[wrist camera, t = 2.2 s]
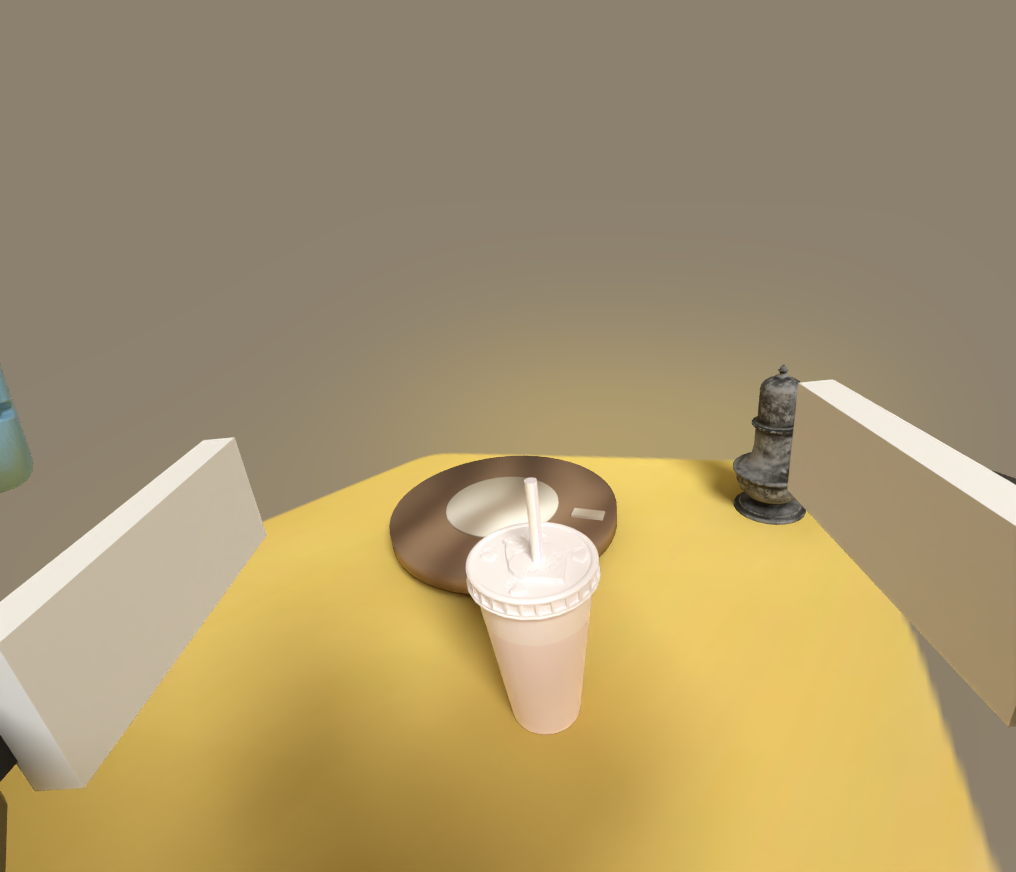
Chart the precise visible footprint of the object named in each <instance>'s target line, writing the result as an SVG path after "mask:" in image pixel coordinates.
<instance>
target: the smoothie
mask: <svg viewBox="0 0 1016 872" xmlns="http://www.w3.org/2000/svg"><path fill="white" fill-rule="evenodd" d="M524 484H525V494H526V504H527V514H528V522H526V523H518V524H514V525H510V526H506V527H504V528H501V529H499V530H496V531H494V532H492V533H491V534H489V535H487V536H486V537H484V538H483V539H482V540H480V541H479V542H478V543H477V544H476V545H475V546H474V547H473V548H472V550H471V551H470V553H469V555H468V557H467V560H466V574H467V579H466V582H467V587H468V592H469V593H470V595H471V596H472V598H473V599H474V601H475V602H476V603H477V604H478V605H480V608H481V612H482V615H483V619H484V621H485V624H486V627H487V630H488V634H489V637H490V640H491V643H492V646H493V650H494V653H495V656H496V659H497V662H498V666H499V669H500V672H501V675H502V678H503V682H504V685H505V688H506V691H507V694H508V698H509V701H510V704H511V707H512V710H513V714H514V716H515V718H516V720H517V721H518V723H519V724H520V725H521V726H522V727H524V728H525V729H527V730H529V731H531V732H533V733H537V734H554V733H558V732H561V731H563V730H565V729H566V728H568V727H569V726H571V725H572V724H573V722H574V721H575V720H576V718H577V717H578V714H579V712H580V706H581V696H582V687H583V677H584V667H585V658H586V648H587V639H588V629H589V620H590V611H591V602H592V594H593V593H594V591H595V590H596V589H597V587H598V583H599V580H600V577H601V574H600V566H599V556H598V552H597V549H596V547H595V545H594V544H593V542H592V541H591V540H590V539H589V538H588V537H587V536H585V535H584V534H583V533H581V532H579V531H577V530H575V529H574V528H571V527H568V526H565V525H562V524H557V523H552V522H541V520H540V508H539V497H538V486H537V479H536V478H527V479H525V480H524Z"/></svg>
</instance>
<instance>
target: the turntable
mask: <svg viewBox="0 0 1016 872" xmlns="http://www.w3.org/2000/svg"><path fill="white" fill-rule="evenodd" d="M527 478H536V479H537V486H538V497H539V508H540V520H541V522H552V523H557V524H562V525H565V526H568V527H571V528H574V529H575V530H577V531H579V532H581V533H583V534H584V535H585V536H587V537H588V538H589V539H590V540H591V541H592V542H593V544H594V545H595V547H596V549H597V552H598V556H599V557H600V556H601V555H602V554H603V553H604V552H605V551H606V549H607V548H608V546H609V545H610V544H611V542H612V540H613V538H614V535H615V532H616V528H617V506H616V499H615V495H614V493H613V491H612V489H611V488H610V486H609V485H608V484H607V483H606V482H605V481H604V480H603V479H602V478H601V477H600V476H598V475H597V474H595V473H594V472H592V471H590V470H588V469H586V468H584V467H582V466H580V465H577V464H574V463H571V462H567V461H563V460H559V459H554V458H548V457H538V456H506V457H496V458H489V459H483V460H478V461H473V462H470V463H466V464H462V465H459V466H456V467H453V468H450V469H448V470H445V471H443V472H440V473H438V474H436V475H434V476H432V477H430V478H428V479H427V480H425V481H423V482H421V483H420V484H419V485H417V486H416V487H414V488H413V489H412V490H411V491H409V492H408V493H407V494H406V495H405V496H404V497H403V498H402V499H401V501H400V502H399V503H398V505H397V506H396V508H395V509H394V511H393V514H392V516H391V520H390V535H391V540H392V544H393V549H394V552H395V555H396V557H397V559H398V560H399V562H400V564H401V565H402V566H403V567H404V568H405V569H406V570H407V571H408V572H409V573H410V574H412V575H413V576H414V577H416V578H417V579H419V580H421V581H423V582H425V583H427V584H429V585H432V586H435V587H438V588H440V589H444V590H448V591H453V592H457V593H465V594H470V593H469V592H468V587H467V582H466V579H467V574H466V560H467V557H468V555H469V553H470V551H471V550H472V548H473V547H474V546H475V545H476V544H477V543H478V542H479V541H480V540H482V539H483V538H484V537H486V536H487V535H489V534H491V533H492V532H494V531H496V530H499V529H501V528H504V527H506V526H510V525H514V524H518V523H526V522H528V514H527V504H526V494H525V484H524V480H525V479H527Z"/></svg>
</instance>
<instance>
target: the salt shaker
mask: <svg viewBox="0 0 1016 872" xmlns="http://www.w3.org/2000/svg"><path fill="white" fill-rule="evenodd" d="M778 371H779V372H780V374H778V375H776V376H773V377H770V378H768V379H766V380H765V381H764V382H763V383H762V384H761V387H760V396H759V408H758V416H757V417H755V418H754V419H753V420H752V425H753V426H754V427H755V428H756V430H755V441H754V446H753V450H752V452H750V453H747V454H744V455H741V456H740V457H738V458H737V459H736V460H735V461H734V462H733V469H734V471H735V473H736V474H737V480H738V482H739V485H740V487H741V489H742V490H743V491H744V492H742V493H740V494H739V495H737V496H736V498H735V500H734V506H735V508H736V510H737V511H738V512H739V513H740V514H742V515H743V516H745V517H747V518H749V519H751V520H754V521H757V522H761V523H765V524H775V525H778V524H789V523H794V522H796V521H799V520H800V519H802V518H803V517H804V515H805V513H806V509H805V508H804V507H803V506H802V505H801V504H800V503H799V502H798V501H797V500H796V499H795V497H794V496H793V495H792V494H791V493H790V492H789V491H788V490H787V487H788V478H789V468H790V459H791V449H792V440H793V430H794V421H795V411H796V402H797V393H798V383H800V381H798V380H797V379H795V378H793V377H790V376H789V375H787V374H786V372H787V371H788V369H787V367H786V366H785V365H783V366H781V367H780V369H778Z"/></svg>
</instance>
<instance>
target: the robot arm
mask: <svg viewBox="0 0 1016 872" xmlns="http://www.w3.org/2000/svg"><path fill="white" fill-rule="evenodd" d="M32 471H33V459H32V456H31V453H30V450H29V447H28V444H27V441H26V438H25V435H24V432H23V429H22V426H21V423H20V420H19V417H18V414H17V411H16V408H15V405H14V402H13V399H12V396H11V393H10V391H9V388H8V385H7V382H6V379H5V376H4V373H3V371H2V368H1V365H0V493H2V492H5V491H8V490H11V489H13V488H16V487H18V486H20V485H21V484H23V483H24V482H25V481H26V480H27V479H28V478H29V477H30V475H31V473H32ZM787 490H788V491H789V492H790V493H791V494H792V495H793V496H794V497H795V499H796V500H797V501H798V502H799V503H800V504H801V505H802V506H803V507H804V508H805V509H806V510H807V511H808V513H809V514H810V515H811V516H812V517H813V518H814V519H815V520H816V521H817V522H818V523H819V524H820V525H821V526H822V528H823V529H824V530H825V531H826V532H827V533H828V534H829V535H830V536H831V537H832V538H833V539H834V540H835V542H836V543H837V544H838V545H839V546H840V547H841V548H842V549H843V550H844V551H845V552H846V553H847V554H848V556H849V557H850V558H851V559H852V560H853V561H854V562H855V563H856V564H857V565H858V566H859V567H860V568H861V569H862V571H863V572H864V573H865V574H866V575H867V576H868V577H869V578H870V579H871V580H872V581H873V582H874V583H875V585H876V586H877V587H878V588H879V589H880V590H881V591H882V592H883V593H884V594H885V595H886V596H887V597H888V599H889V600H890V601H891V602H892V603H893V604H894V605H895V606H896V607H897V608H898V609H899V610H900V611H901V612H902V614H903V615H904V616H905V617H906V618H907V619H908V620H909V621H910V622H911V623H912V624H913V625H914V626H915V628H916V629H917V630H918V631H919V632H920V633H921V634H922V635H923V636H924V637H925V638H926V639H927V640H928V641H929V642H930V644H931V645H932V646H933V647H934V648H935V649H936V650H937V651H938V652H939V653H940V654H941V655H942V657H943V658H944V659H945V660H946V661H947V662H948V663H949V664H950V665H951V666H952V667H953V668H954V669H955V671H956V672H957V673H958V674H959V675H960V676H961V677H962V678H963V679H964V680H965V681H966V682H967V683H968V684H969V686H971V688H972V689H973V690H974V691H975V692H976V693H977V694H978V695H979V696H980V697H981V698H982V700H983V701H984V702H985V703H986V704H987V705H988V706H989V707H990V708H991V709H992V710H993V711H994V712H995V713H996V715H997V716H998V717H999V718H1000V719H1001V720H1002V721H1003V722H1004V723H1005V724H1006V725H1007V726H1008V727H1016V479H1015V478H1012V477H1009V476H1006V475H1004V474H1001V473H998V472H995V471H991V470H989V469H987V468H986V467H984V466H982V465H980V464H979V463H977V462H975V461H973V460H972V459H970V458H968V457H966V456H965V455H963V454H961V453H960V452H958V451H956V450H954V449H953V448H951V447H949V446H947V445H945V444H944V443H942V442H941V441H939V440H937V439H935V438H934V437H932V436H930V435H928V434H927V433H925V432H923V431H922V430H920V429H918V428H916V427H915V426H913V425H911V424H909V423H908V422H906V421H904V420H902V419H901V418H899V417H897V416H896V415H894V414H892V413H890V412H889V411H887V410H885V409H883V408H882V407H880V406H878V405H876V404H875V403H873V402H871V401H870V400H868V399H866V398H864V397H863V396H860V395H859V394H857V393H856V392H854V391H852V390H850V389H848V388H847V387H845V386H844V385H842V384H840V383H838V382H837V381H835V380H823V381H813V382H803V383H798V393H797V402H796V411H795V421H794V430H793V440H792V449H791V459H790V468H789V478H788V487H787ZM265 537H266V532H265V529H264V526H263V523H262V520H261V517H260V514H259V511H258V507H257V504H256V501H255V498H254V495H253V492H252V489H251V486H250V483H249V480H248V477H247V474H246V471H245V468H244V465H243V462H242V459H241V456H240V453H239V450H238V447H237V444H236V441H235V438H234V437H233V438H224V439H212V440H203V441H202V442H201V443H199V444H198V445H197V446H196V447H194V448H193V449H192V450H191V451H189V452H188V453H187V454H186V455H184V456H183V457H182V458H180V460H178V461H177V462H175V463H174V464H173V465H172V466H170V467H169V468H168V469H167V470H165V471H164V472H163V473H162V474H160V475H159V476H158V477H157V478H155V479H154V480H153V481H152V482H150V483H149V484H148V485H147V486H145V487H144V488H143V489H141V490H140V491H139V492H138V493H137V494H135V495H134V496H133V497H131V498H130V499H129V500H128V501H127V502H125V503H124V504H123V505H121V506H120V507H119V508H118V509H116V510H115V511H114V512H113V513H111V514H110V515H109V516H108V517H106V518H105V519H104V520H103V521H101V522H100V523H99V524H98V525H96V526H95V527H94V528H93V529H91V530H90V531H89V532H87V533H86V534H85V535H84V536H82V537H81V538H80V539H79V540H77V541H76V542H75V543H74V544H72V545H71V546H70V547H69V548H67V549H66V550H65V551H64V552H62V553H61V554H60V555H59V556H57V557H56V558H55V559H53V560H52V561H51V562H50V563H48V564H47V565H46V566H45V567H43V568H42V569H41V570H40V571H38V572H37V573H36V574H35V575H33V576H32V577H31V578H30V579H28V580H27V581H26V582H25V583H23V584H22V585H21V586H20V587H18V588H17V589H16V590H14V591H13V592H12V593H11V594H10V595H8V596H7V597H6V598H5V599H3V600H2V601H1V602H0V781H1V780H2V779H3V778H4V777H5V776H6V775H7V773H8V772H9V771H10V770H11V769H12V768H13V766H14V765H15V764H17V765H18V767H19V768H20V770H21V771H22V773H23V774H24V776H25V777H26V779H27V780H28V782H29V783H30V785H31V786H32V788H33V789H34V791H45V790H60V789H75V788H85V786H86V785H87V783H88V782H89V781H90V779H91V778H92V777H93V775H94V774H95V772H96V771H97V770H98V768H99V767H100V765H101V764H102V763H103V761H104V760H105V759H106V757H107V756H108V754H109V753H110V752H111V750H112V749H113V747H114V746H115V745H116V743H117V742H118V740H119V739H120V738H121V736H122V735H123V734H124V732H125V731H126V729H127V728H128V727H129V725H130V724H131V722H132V721H133V720H134V718H135V717H136V716H137V714H138V713H139V711H140V710H141V709H142V707H143V706H144V704H145V703H146V702H147V700H148V699H149V698H150V696H151V695H152V693H153V692H154V691H155V689H156V688H157V686H158V685H159V684H160V682H161V681H162V680H163V678H164V677H165V675H166V674H167V673H168V671H169V670H170V668H171V667H172V666H173V664H174V663H175V662H176V660H177V659H178V657H179V656H180V655H181V653H182V652H183V650H184V649H185V648H186V646H187V645H188V643H189V642H190V641H191V639H192V638H193V637H194V635H195V634H196V632H197V631H198V630H199V628H200V627H201V625H202V624H203V623H204V621H205V620H206V619H207V617H208V616H209V614H210V613H211V612H212V610H213V609H214V607H215V606H216V605H217V603H218V602H219V601H220V599H221V598H222V596H223V595H224V594H225V592H226V591H227V589H228V588H229V587H230V585H231V584H232V583H233V581H234V580H235V578H236V577H237V576H238V574H239V573H240V571H241V570H242V569H243V567H244V566H245V565H246V563H247V562H248V560H249V559H250V558H251V556H252V555H253V553H254V552H255V551H256V549H257V548H258V546H259V545H260V544H261V542H262V541H263V540H264V538H265ZM6 833H7V803H6V800H5V798H4V795H3V794H2V792H1V791H0V872H5V868H6Z"/></svg>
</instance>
